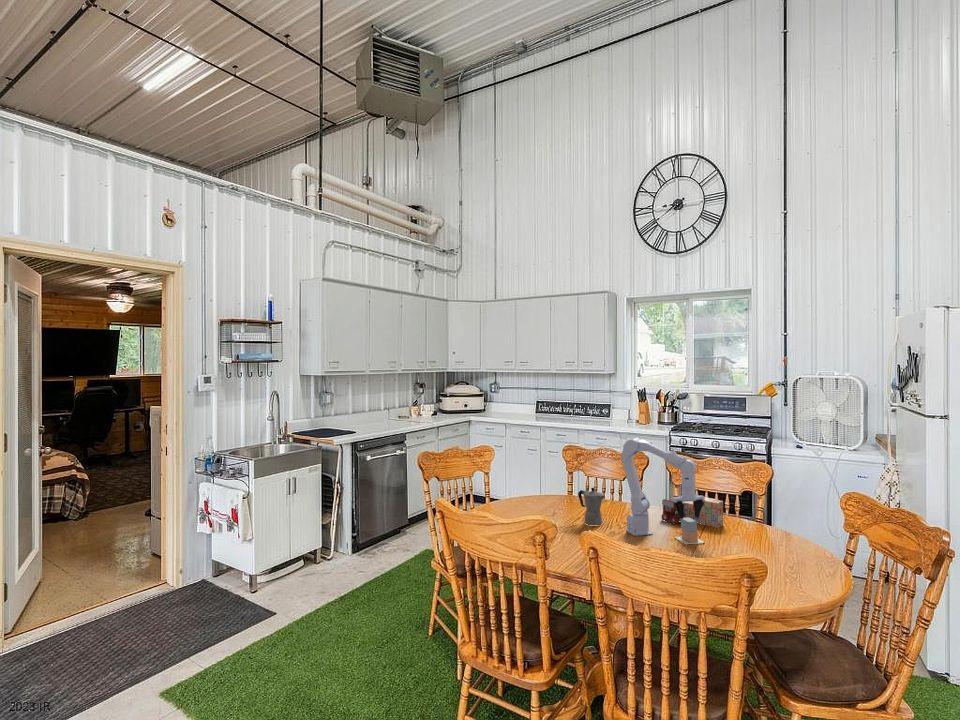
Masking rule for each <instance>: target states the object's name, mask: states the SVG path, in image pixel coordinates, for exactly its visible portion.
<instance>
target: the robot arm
mask: <svg viewBox="0 0 960 720" xmlns="http://www.w3.org/2000/svg"><path fill="white" fill-rule="evenodd" d="M638 452H640V453H641V452H647V453H651V454H653V455H655V456H656V457H659V458H662V459H663V460H664V462H665V463H666V464H668V465H669V466H672V467H674V468H676V469H678V470H680V472H681V477H680V478H681V480H680V481H681V495H678V496H673V497H672V501H673V502H674V505H675V506H676V508H677V511H678V514H679V518H681V519H683V510H684V504H682V502H686V501H693V504H694V515H695V517H697V518H699V514H700V511H701V509H702V507H703V505H704V502H703V501H705V496H704V495H697V494H696V476H695V475H696V473H695V470H696V468H697V464H696V463H695V461H694V460H692V458H687V457H686V456H682V455H679V454H678V453H677V452H676V451H674V450H673V451H672V450H671V451H666V450H664V449H662V448H660V447H659V446H656V445H655V444H652V443H651V442H649V441H648V440H645V439H641V438H640V437H637V436H635V437H633V438H630V439H628V440H626V441H625V442H624V444H623V445H622V451H621V456H620V460H621V462H622V466H623V470H624V473H625V477H626V480H627V483H628V486H629V490H630V491H629V492H630V503H631V504H630V509H631V510H630V511H631V513H630V514H627V516H626V531H627V532H628V533H629V534H631V535H632V536H636V537H637V536H647V535H648V536H649V534H651V535H653V532H651V531H649V529H650V528H649V527H650V526H649V525H650V524H649V511H648V510H650V509H649V508H650V507H651V506H650V501H649V500H648V498H647V497H646V494H645V493H644V491H643V488H642V486H641V482H640V478H639V475H638V473H637V468H636V465H635V461H634V458H635V456H636V455H637V453H638Z"/></svg>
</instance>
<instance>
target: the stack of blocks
mask: <svg viewBox="0 0 960 720" xmlns="http://www.w3.org/2000/svg"><path fill="white" fill-rule="evenodd" d="M704 497H705V496H704ZM703 502H704V505H703V507H702V509H701V511H700V514H699V518H697V517H695V515H694V504H693V501H686V502H682V504H684V512H685V515H686V518H687V517H689V518H691V519H693V520H695V521H697V522H698V523H701V524H700V525H702V524H705V525H704V526H706V525H708V526H707V527H710V526H712V527H711V528H714V527H715V528H714V529H719V528H721V527H723V526H724V501H723V500H721V499H720V500H719V499H716V498H712V497H711V498H710V497H705V501H703ZM676 509H677V508H676Z"/></svg>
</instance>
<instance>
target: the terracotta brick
mask: <svg viewBox="0 0 960 720" xmlns="http://www.w3.org/2000/svg"><path fill="white" fill-rule="evenodd" d="M698 535H699V534H698V530H697V531H695V532H688V531H686V530H684V529H682V528H681V537H682V538H683V539H685V540H686V541H688V542H698V539H699V538H698V537H699V536H698Z"/></svg>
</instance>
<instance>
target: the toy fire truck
mask: <svg viewBox="0 0 960 720" xmlns="http://www.w3.org/2000/svg"><path fill="white" fill-rule="evenodd" d="M661 504H662V514H661V520H662V521H663V520H665V521H668V522H669V521H670V523H671V524H672V523H674V524H673V525H678V524H679V523H680V522H679V521H681V518H679V514H678V511H677V509H676V506H675V505H674V502H673V500H669V499H666V498H663V499H662V502H661ZM683 518H686V515H685V512H684V510H683Z"/></svg>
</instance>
